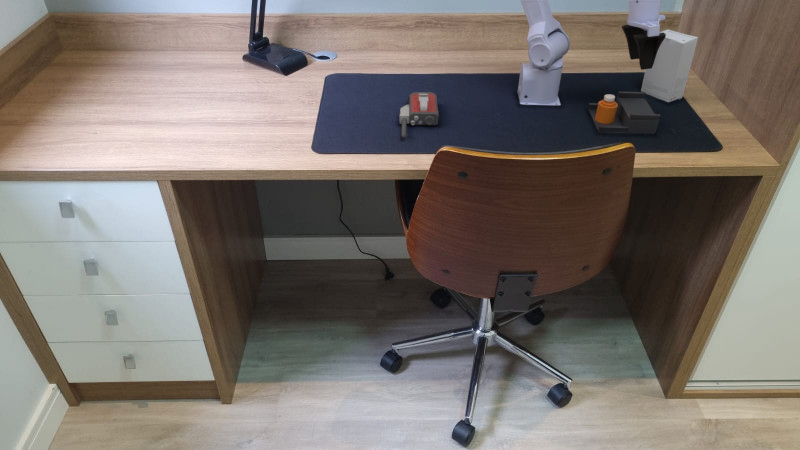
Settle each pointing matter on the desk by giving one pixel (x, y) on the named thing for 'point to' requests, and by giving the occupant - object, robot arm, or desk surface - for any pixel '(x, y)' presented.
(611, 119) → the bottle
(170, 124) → the desk surface
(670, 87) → the cosmetic box
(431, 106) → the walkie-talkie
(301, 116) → the desk surface
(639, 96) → the rack
